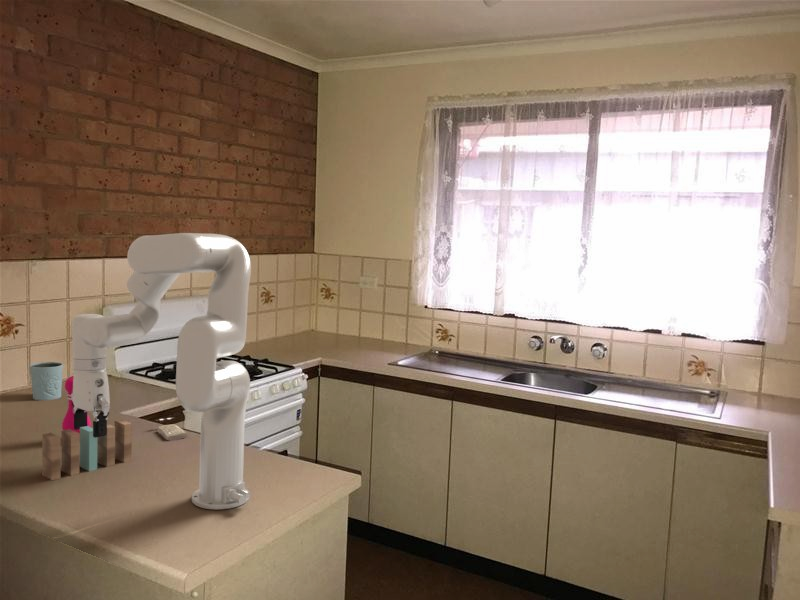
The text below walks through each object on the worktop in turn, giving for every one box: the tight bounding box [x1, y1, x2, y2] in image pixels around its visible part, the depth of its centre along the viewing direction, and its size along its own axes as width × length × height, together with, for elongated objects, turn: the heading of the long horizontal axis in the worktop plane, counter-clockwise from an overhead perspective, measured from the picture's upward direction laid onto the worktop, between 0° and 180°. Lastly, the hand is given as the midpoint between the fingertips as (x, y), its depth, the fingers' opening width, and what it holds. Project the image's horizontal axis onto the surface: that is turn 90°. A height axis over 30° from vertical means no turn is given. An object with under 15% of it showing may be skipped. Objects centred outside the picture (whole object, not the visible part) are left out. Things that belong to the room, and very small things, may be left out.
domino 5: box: [113, 419, 133, 463], centre depth 174 cm, size 5×2×10 cm, turn 51°
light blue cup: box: [29, 361, 64, 401], centre depth 230 cm, size 10×10×12 cm
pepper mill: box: [61, 372, 92, 434], centre depth 187 cm, size 7×7×20 cm
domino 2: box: [61, 429, 80, 477], centre depth 163 cm, size 5×2×10 cm, turn 51°
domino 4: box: [97, 423, 116, 468], centre depth 170 cm, size 5×2×10 cm, turn 51°
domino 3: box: [79, 426, 98, 472], centre depth 167 cm, size 5×2×10 cm, turn 51°
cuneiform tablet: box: [154, 416, 188, 442], centre depth 196 cm, size 6×4×12 cm
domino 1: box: [41, 432, 62, 481], centre depth 160 cm, size 5×2×10 cm, turn 51°
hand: (90, 432), depth 166 cm, fingers open, 9 cm apart
